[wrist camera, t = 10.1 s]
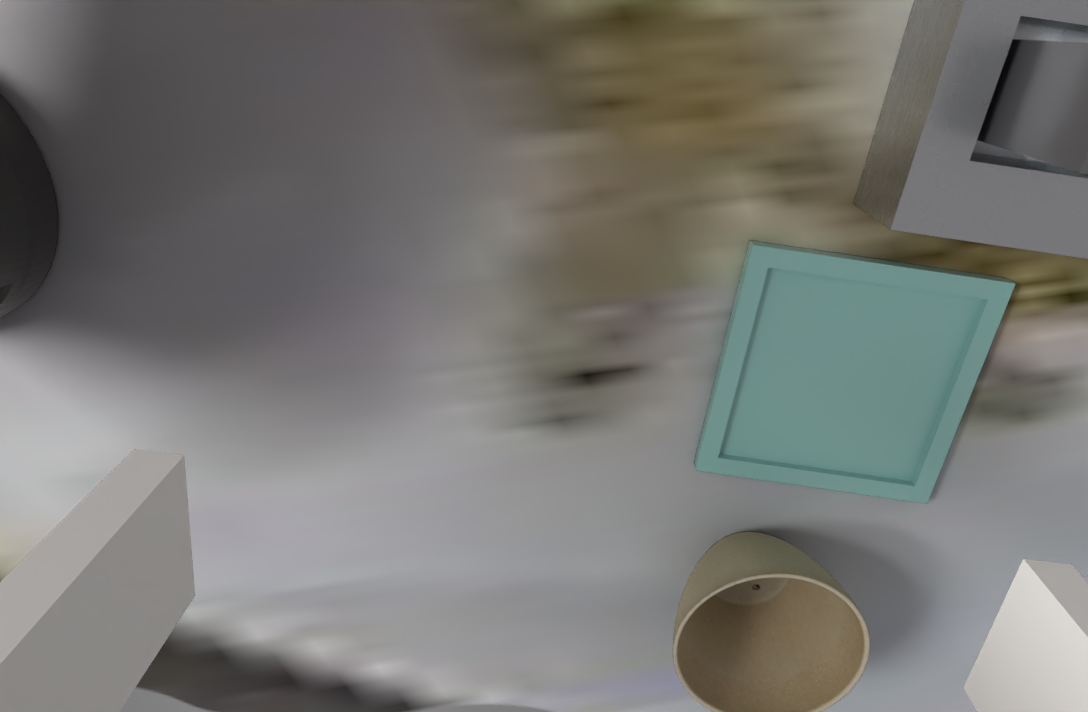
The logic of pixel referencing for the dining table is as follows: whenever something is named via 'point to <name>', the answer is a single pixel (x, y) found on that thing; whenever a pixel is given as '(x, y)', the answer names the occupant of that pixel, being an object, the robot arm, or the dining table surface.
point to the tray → (847, 370)
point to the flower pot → (766, 630)
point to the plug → (1042, 103)
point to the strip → (970, 133)
